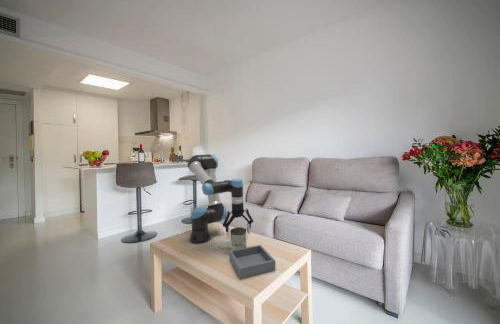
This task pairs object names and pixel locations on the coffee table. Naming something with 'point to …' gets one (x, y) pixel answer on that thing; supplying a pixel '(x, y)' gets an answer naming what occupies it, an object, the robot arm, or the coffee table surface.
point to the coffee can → (238, 238)
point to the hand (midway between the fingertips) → (238, 235)
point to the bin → (251, 261)
